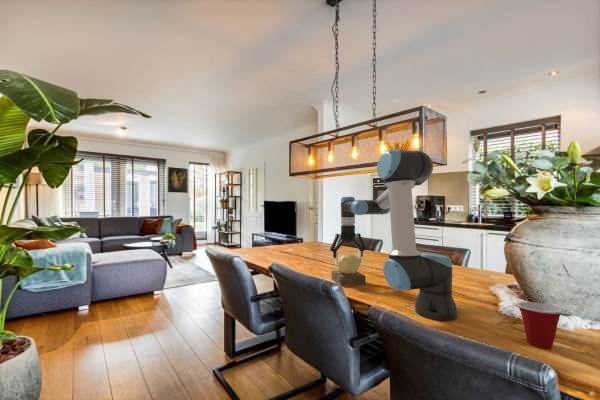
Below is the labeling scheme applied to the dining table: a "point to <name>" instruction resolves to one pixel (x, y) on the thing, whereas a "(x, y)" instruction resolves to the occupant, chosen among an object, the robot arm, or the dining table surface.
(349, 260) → the sculpture
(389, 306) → the dining table surface
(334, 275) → the walnut block
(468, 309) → the dining table surface
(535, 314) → the plastic cup
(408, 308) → the dining table surface
